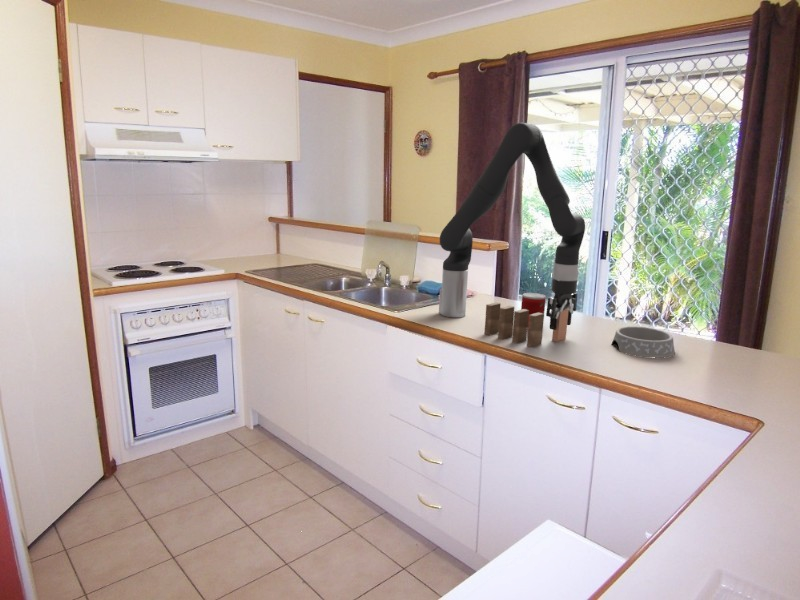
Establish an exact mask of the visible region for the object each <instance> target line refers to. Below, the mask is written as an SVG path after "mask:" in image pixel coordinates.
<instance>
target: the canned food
mask: <svg viewBox="0 0 800 600" xmlns="http://www.w3.org/2000/svg"><path fill="white" fill-rule="evenodd" d="M546 299H547V298H546V295H545V294H542V293H538V292H537V293H536V292H524V293H523V294H522V297H521V307H520V310H521V309H526V310H529V315H531V314H535V313H538V312H539V313H543V314H544V315H545V311H546V310H545V309H546ZM544 321H545V320H544ZM544 321H543V323H544ZM528 326H529V316H528Z"/></svg>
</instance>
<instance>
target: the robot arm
mask: <svg viewBox="0 0 800 600" xmlns="http://www.w3.org/2000/svg"><path fill="white" fill-rule="evenodd" d="M523 154H524V155H525V156H526V157H527V159H528V160H529V162H530V163H531V165H532V167H533V169H534V173H535V178H536V184H537V189H538V191H539V193H540V197H541V198H542V200H543V201H544V203H545V206H546V207H547V210H548V213H549V217H550V221H551V224H552V227H553V230H554V231H555V232H556V234H558V235H559V236H560V237H561V240H560V241H561V242H560V243H559V244H558V245H557V247H556V249H555V255H554V256H555V257H554V266H553V270H552V278H551V279H552V280H551V292H553V293H554V297H548V299H547V306H546V313H545V315H546V317H548V318H549V329H550V330H551V331H553V330H556V329H557V322H558V319H557V318H558V316H559V314H560V313H561V312H562V310H564V309H569V311H568V321H567V326H570V325H571V324H572V315H573V314H574V312H576V311H577V304H578V293H577V288H578V287H577V285H578V275H579V258H580V248H581V246H582V244H583V240H584V237H585V231H586V222H585V219H584V217H583V216H582V215H580V214H578V213H572V211H571V208H570V206H569V204H570V203H571V201H570V197H569V195H568V192H567V190H566V189H565V187H564V185H563V184H562V183H563V182H562V181H561V179H560V178H559V175H558V173H557V170H556V169H555V167H554V164H553V161H552V160H551V157H550V153H549V151H548V147H547V145H546V141H545V138H544V135H543V132H542V130H541V128H540V127H539V126H538V125H536V124H532V123H529V122H517V123H515V124H513V125H512V126H511V127H509V128H508V131H506V134H505V135H504V137H503V139H502V141H501V143H500V145H499V147H498V149H497V151H495V155H493V158H492V159H491V161H490V162H488V163H489V164H488V165H487V167H486V168H485V170H484V171H483V172H482V174H481V175H480V177H479V178H478V180H477V181H476V183H475V184H474V185H473V187H472V189H471V191H470V192H469V194H468V196H467V197H466V198H465V200H464V201H463V202H462V204H461V205H460V207H459V209H458V210H457V212H456V213H455V214H454V215H453V217H452V218H451V219H450V220H449V221H448V223H447V224H446V225H445V227H444V228H443V229H442V230H441V232H440V236H439V245H440V247H441V248H442V249H443V250H444V251H445V252H449V255H448V256H447V257H446V258H445V259H444V260H443V262H442V281H441V288H440V289H439V297H438V298H439V303H438V313H439V314H440V315H441V316H442V317H446V318H447V317H448V318H462V317H466V314H467V313H466V312H467V297H468V296H467V295H468V293H467V292H468V280H469V279H468V277H469V276H468V275H469V265H470V264H471V260H472V253H473V243H474V242H473V240H474V239H473V232H472V231H471V229H470V228H471V227H472V225H473V224H474V223H476V222H477V221H478V220H479V219H481V218H482V217H483V216H484V215H486V213H488V212H489V211H490V210H491V209H492V208H493V207H494V206H495V204H497V202H498V200H499V199H500V197H501V196H502V194H503V193H504V191H505V189H506V185H507V181H508V178H509V173H510V171H511V169H512V168H513V166H514V165H515V163H517V160H518V159H519V158H520V157H521V156H522V155H523ZM555 312H556V314H555Z"/></svg>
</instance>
